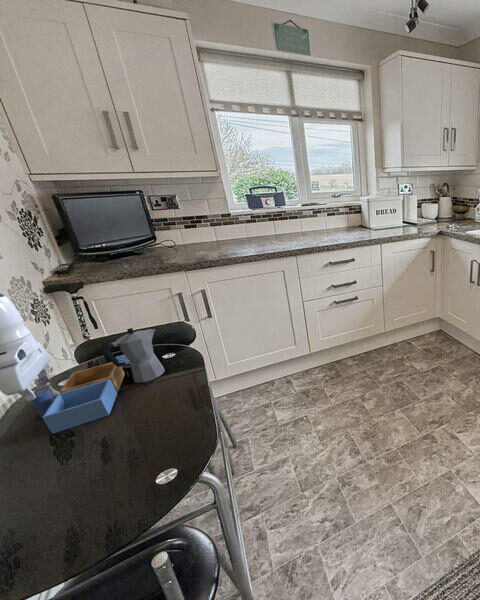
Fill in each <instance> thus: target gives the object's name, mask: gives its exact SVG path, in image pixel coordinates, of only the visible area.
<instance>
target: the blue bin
mask: <svg viewBox="0 0 480 600" xmlns="http://www.w3.org/2000/svg"><path fill="white" fill-rule="evenodd" d="M117 396H118V392H116V390H115V388H114V386H113V384H112V382H111V380H110V379H108V380H105V381H102V382H98V383H95V384H91V385H88V386H84V387H81V388H77V389H74V390H70V391H67V392H64V393H60V392H59V394H58V395H57V397H56V398H55V400H54V401H53V403H52V404H51V406H50V407H49V408H48V410H47V411H46V413H45V414H44V416H43V417H41V418H42V419H43V421H44V423H45V424H46V426H47V428H48V429H49V431H50V432H51V434H52V435H53V434H57V433H59V432H62V431H65V430H68V429H71V428H75V427H78V426H81V425H84V424H87V423H89V422H93V421H96V420H98V419H102V418H105V417H108V416H110V414H111V411H112V409H113V407H114V404H115V401H116V398H117Z"/></svg>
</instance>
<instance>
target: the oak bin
mask: <svg viewBox="0 0 480 600" xmlns="http://www.w3.org/2000/svg"><path fill="white" fill-rule="evenodd" d="M125 375H126V374H125V371H124V368H122V367H117V366H116V365H115V364H113V363H112V362H111V361H110V362H108V363H104V364H101V365H97V366H94V367H93V366H92V367H90V368H86V369H82V370H78V371H75V372H72V373H71V374H70V376H69V378H68V379H67V380H66V381H65V383H64V385H63V386H62V388H61V389H60V390H59V394H60V393H64V392H67V391H70V390H74V389H77V388H81V387H84V386H88V385H91V384H95V383H98V382H102V381H105V380H108V379H110V380H111V382H112V384H113V386H114V388H115V390H116V392H117V393H118V392H119V391H120V388H121V386H122V383H123V380H124V377H125Z"/></svg>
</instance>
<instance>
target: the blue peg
mask: <svg viewBox="0 0 480 600" xmlns="http://www.w3.org/2000/svg"><path fill="white" fill-rule="evenodd" d="M35 392H36V394H37V397H36V398H35V399H34V400H30V402H31V403H32V404H33V406H34V408H35V410H36V411H37V413H38V415H39V416H40V418H42V417H43V416H44V414H45V413H46V411H47V410H48V408H49V407H50V406H51V404H52V403H53V401H54V398H53V397H52V395H51V393H50V391H49V390H48V389H45V390H41V391H40V390H39V391H35Z"/></svg>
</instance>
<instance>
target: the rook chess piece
mask: <svg viewBox="0 0 480 600" xmlns="http://www.w3.org/2000/svg"><path fill="white" fill-rule="evenodd" d="M38 379H39V378H38V377H36V378H35V379H34V380H33V382H34V383H33V385H34V386H35V385H36V386H37V389H38V390H39V391H41V390H45V389H48V390H49V391H50V393H51V395H52V397H53V398H54V400H55V398H56V397H57V395H58V394H60V391H58V390H56V389H54V388H53V387H52V385H51V382H49V381H48V382H47V383H44V384H40V383H39V381H38Z"/></svg>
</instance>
